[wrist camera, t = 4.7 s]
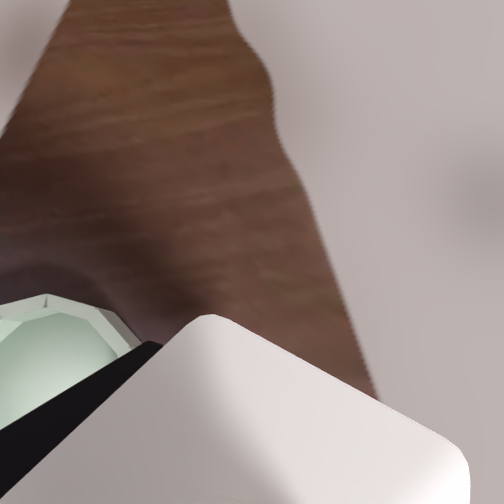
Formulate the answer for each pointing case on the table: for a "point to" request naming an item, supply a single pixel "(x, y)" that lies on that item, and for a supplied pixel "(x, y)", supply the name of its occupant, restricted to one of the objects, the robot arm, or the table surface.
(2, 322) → the ring dish
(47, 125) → the table surface
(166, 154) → the table surface
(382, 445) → the white faceted vase
